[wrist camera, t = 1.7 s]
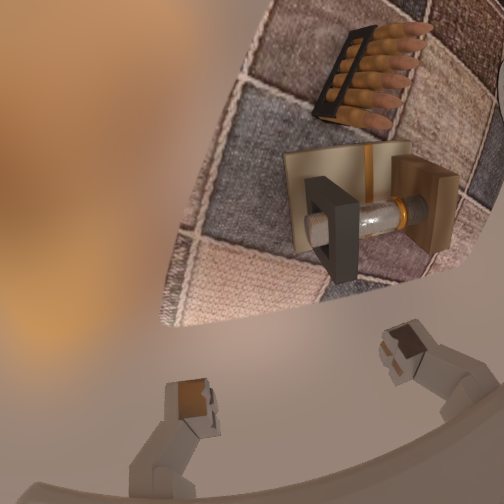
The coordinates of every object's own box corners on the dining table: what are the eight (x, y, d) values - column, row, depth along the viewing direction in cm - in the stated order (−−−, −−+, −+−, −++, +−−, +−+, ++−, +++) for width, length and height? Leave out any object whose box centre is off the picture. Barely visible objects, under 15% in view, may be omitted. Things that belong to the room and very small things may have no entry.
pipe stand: (406, 139, 28) (460, 160, 20) (403, 224, 34) (446, 260, 26) (282, 153, 27) (314, 178, 20) (294, 248, 33) (321, 298, 25)
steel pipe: (422, 186, 26) (441, 197, 23) (420, 213, 27) (437, 226, 25) (302, 208, 25) (314, 222, 22) (305, 238, 27) (316, 255, 24)
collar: (324, 175, 26) (359, 202, 20) (327, 240, 30) (357, 279, 24) (304, 178, 26) (334, 206, 20) (309, 244, 29) (335, 284, 23)
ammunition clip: (326, 123, 26) (396, 144, 16) (310, 115, 26) (375, 131, 15) (365, 40, 22) (444, 26, 12) (350, 30, 21) (426, 9, 11)
